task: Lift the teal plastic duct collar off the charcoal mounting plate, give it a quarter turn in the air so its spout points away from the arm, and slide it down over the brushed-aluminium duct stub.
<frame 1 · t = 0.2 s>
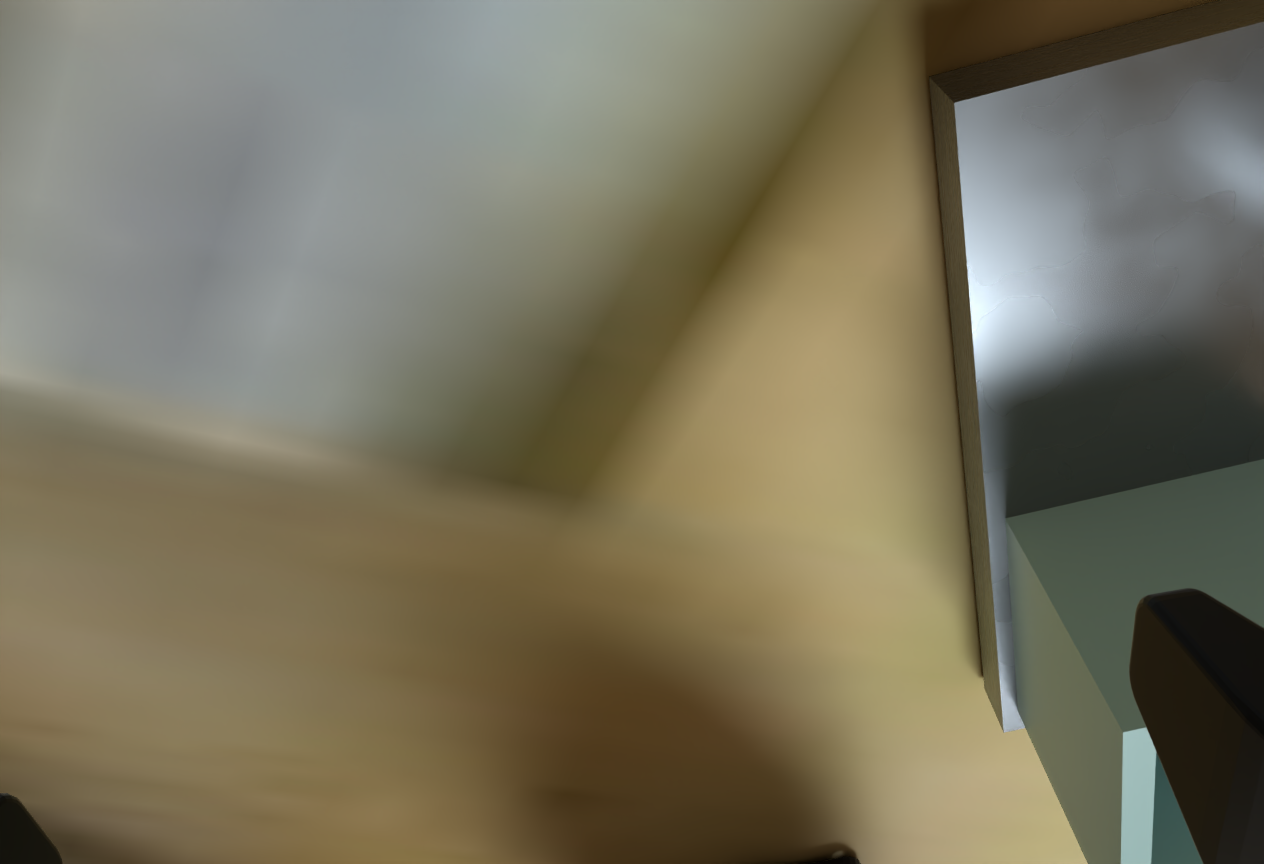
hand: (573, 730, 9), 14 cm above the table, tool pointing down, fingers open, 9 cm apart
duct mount: (1252, 372, 24), on the table
duct collar: (1151, 590, 26), point 1 cm above the table, touching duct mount
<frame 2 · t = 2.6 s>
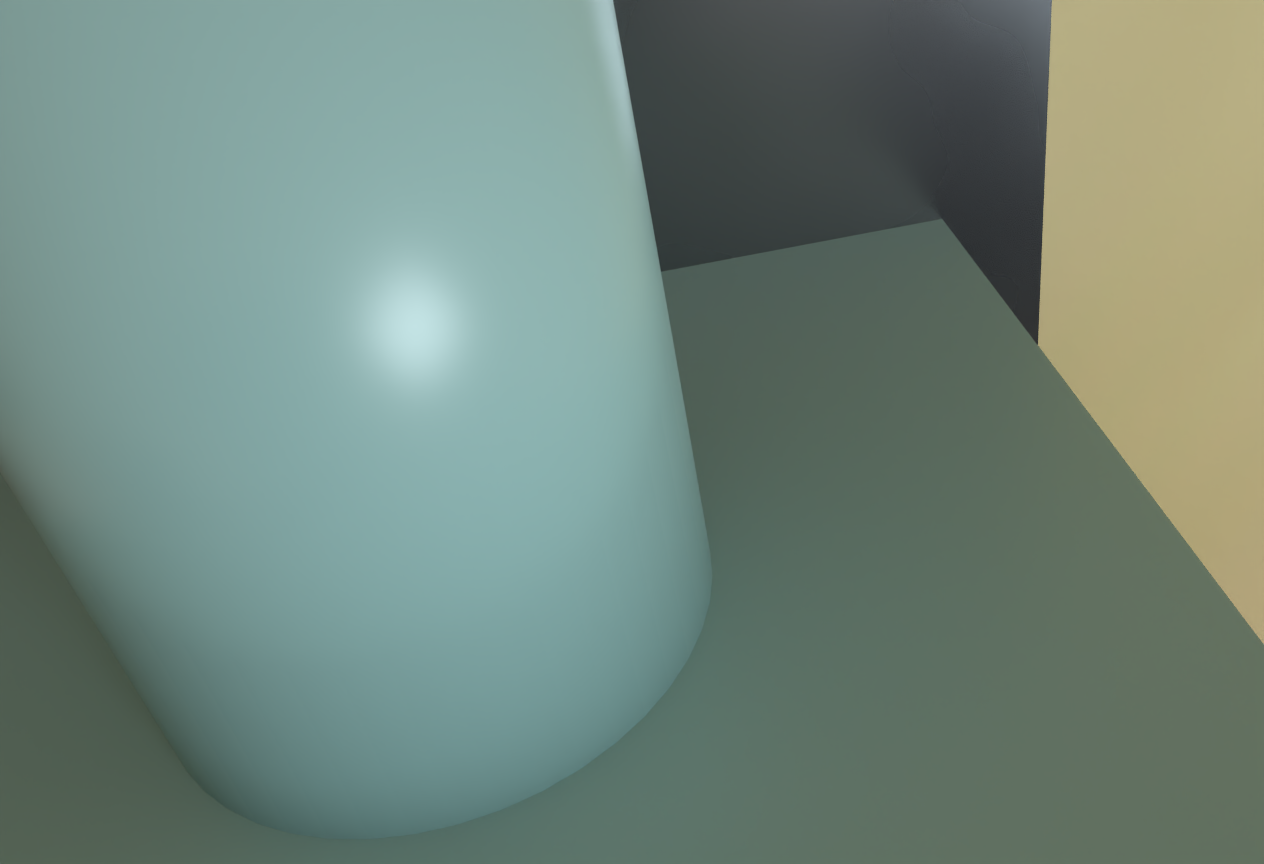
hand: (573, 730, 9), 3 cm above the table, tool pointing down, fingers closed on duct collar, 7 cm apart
duct collar: (569, 638, 10), point 1 cm above the table, touching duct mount, gripper
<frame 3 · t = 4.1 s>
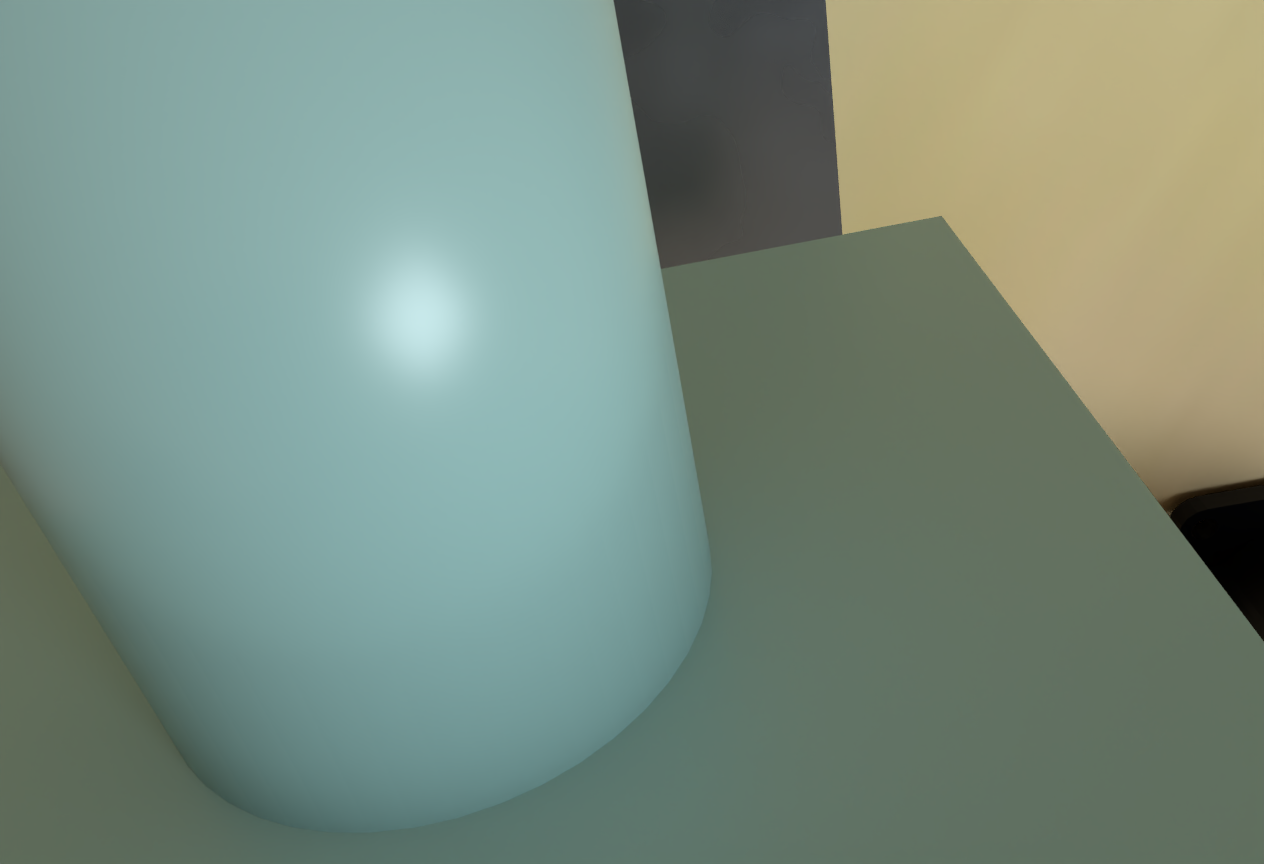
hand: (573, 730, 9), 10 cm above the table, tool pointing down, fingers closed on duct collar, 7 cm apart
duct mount: (221, 102, 16), on the table
duct collar: (569, 636, 10), point 9 cm above the table, touching gripper
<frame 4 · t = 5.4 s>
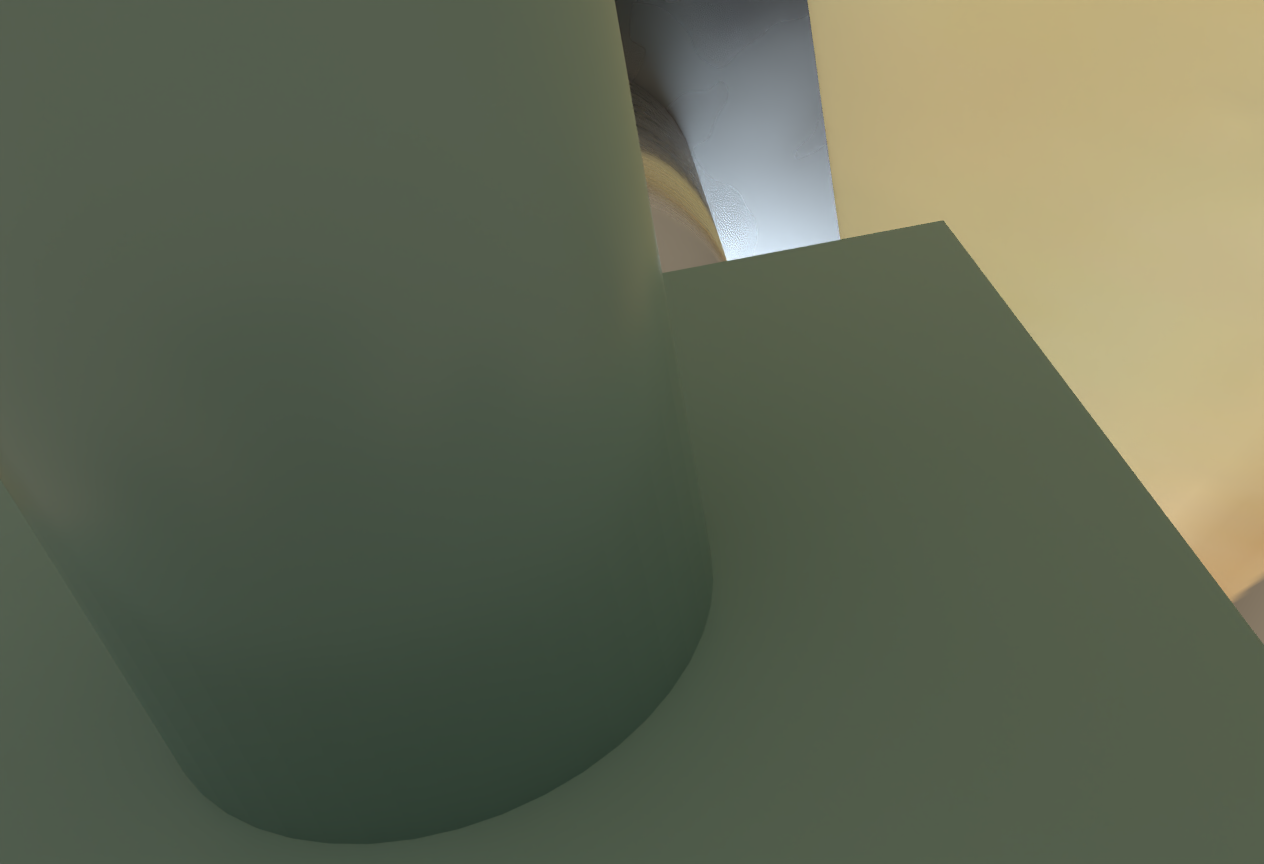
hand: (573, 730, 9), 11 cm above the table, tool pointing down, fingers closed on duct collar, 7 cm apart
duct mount: (497, 422, 21), on the table
duct collar: (569, 640, 10), point 10 cm above the table, touching gripper
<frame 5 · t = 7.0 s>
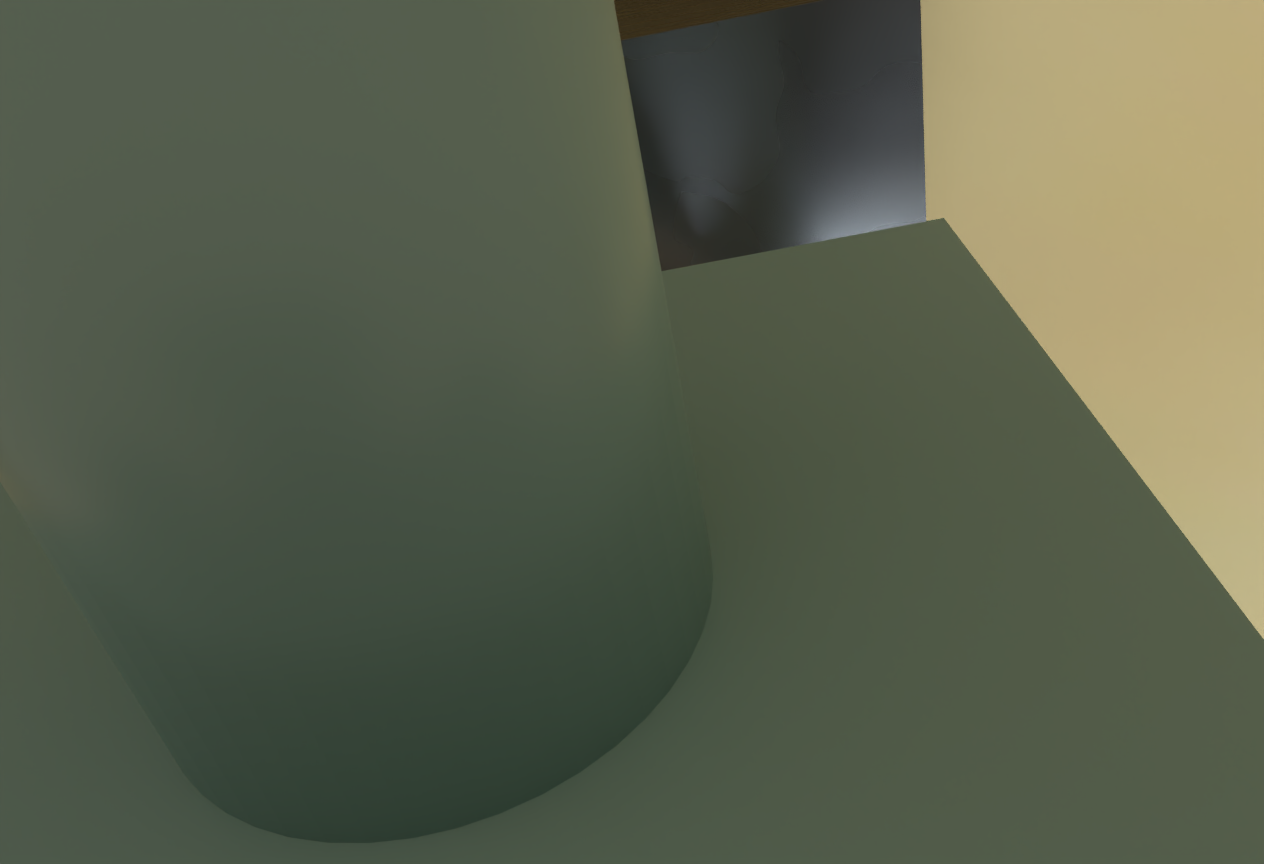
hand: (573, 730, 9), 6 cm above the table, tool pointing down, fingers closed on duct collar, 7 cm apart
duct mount: (462, 654, 16), on the table
duct collar: (569, 639, 10), point 5 cm above the table, touching gripper
when the fingers open (4 cm above the table, at t = 8.2 s): duct collar drops 1 cm, resting on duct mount.
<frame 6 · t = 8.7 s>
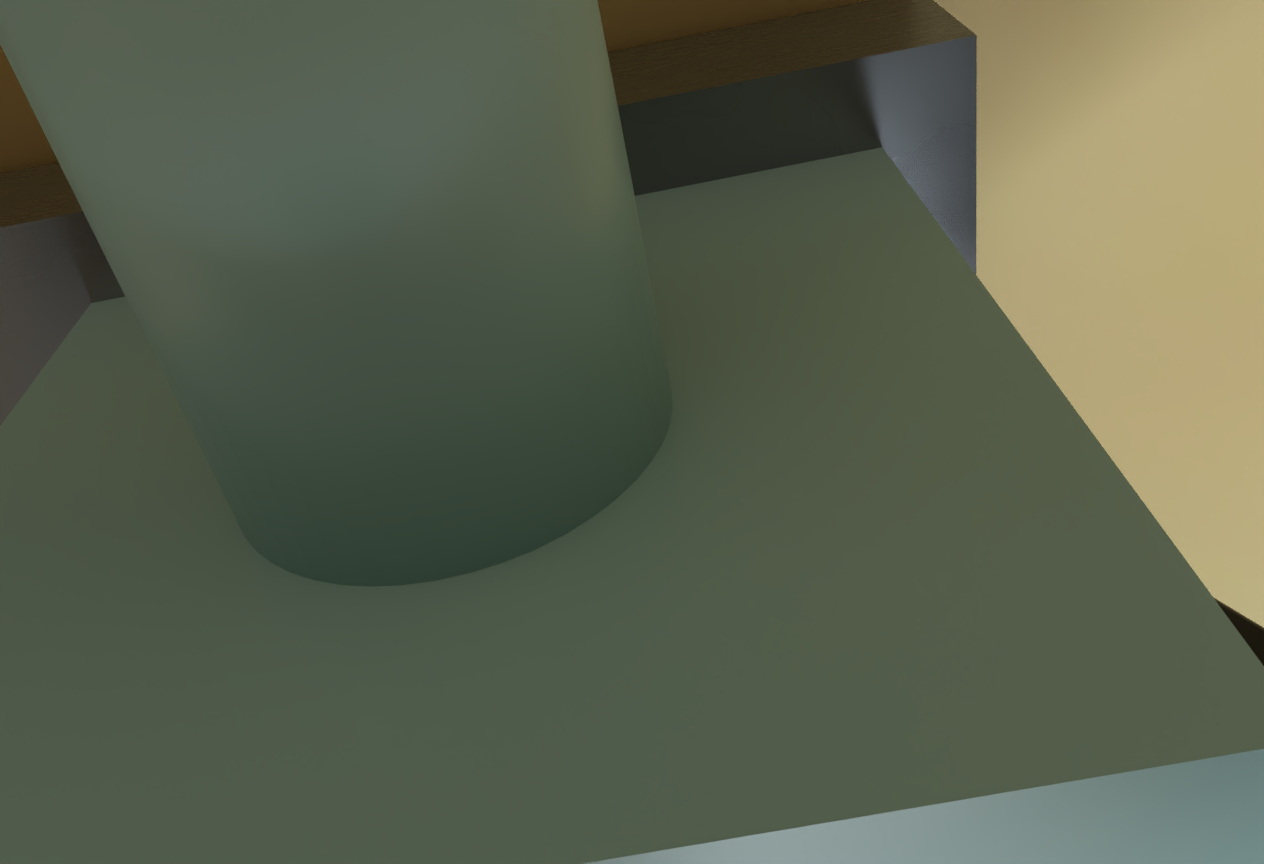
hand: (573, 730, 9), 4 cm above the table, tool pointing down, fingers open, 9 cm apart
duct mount: (452, 747, 15), on the table
duct collar: (565, 533, 11), point 1 cm above the table, touching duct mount
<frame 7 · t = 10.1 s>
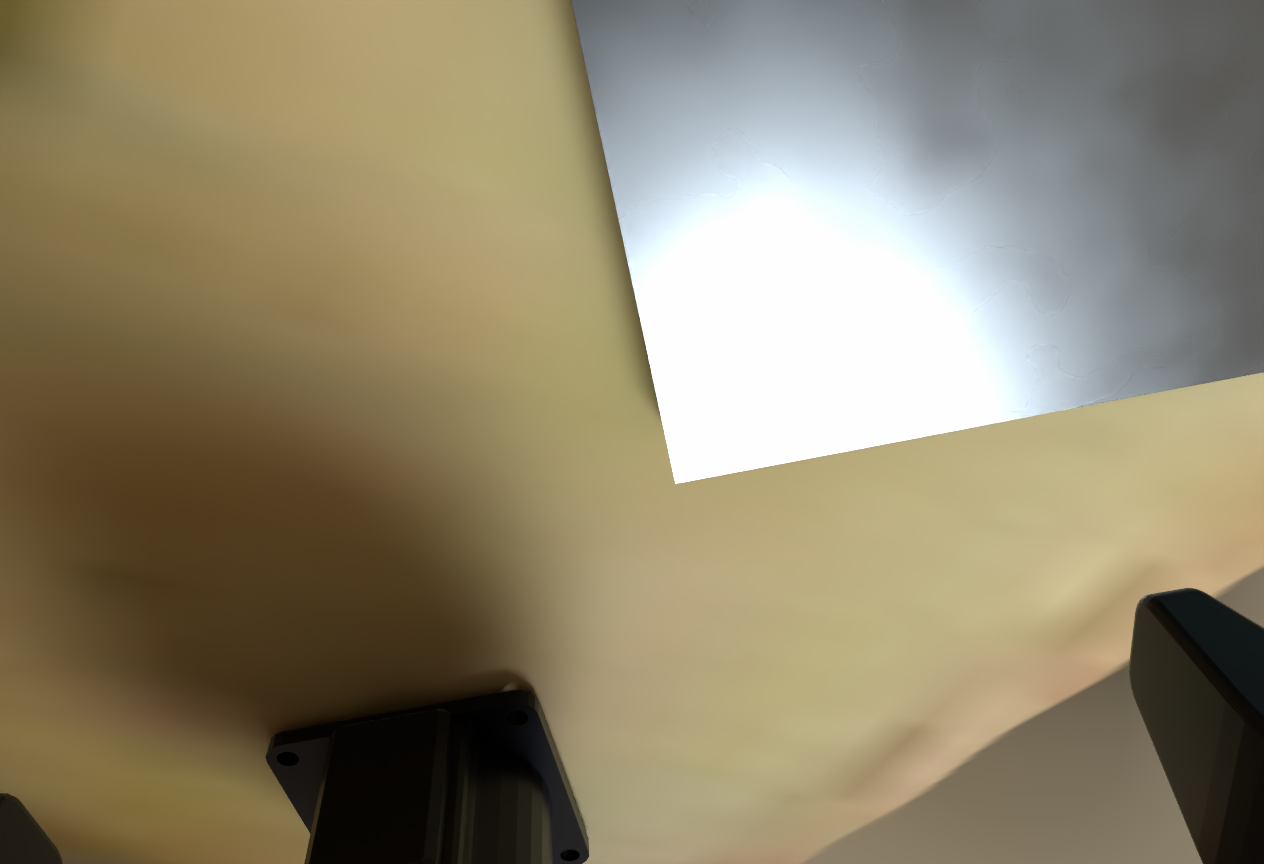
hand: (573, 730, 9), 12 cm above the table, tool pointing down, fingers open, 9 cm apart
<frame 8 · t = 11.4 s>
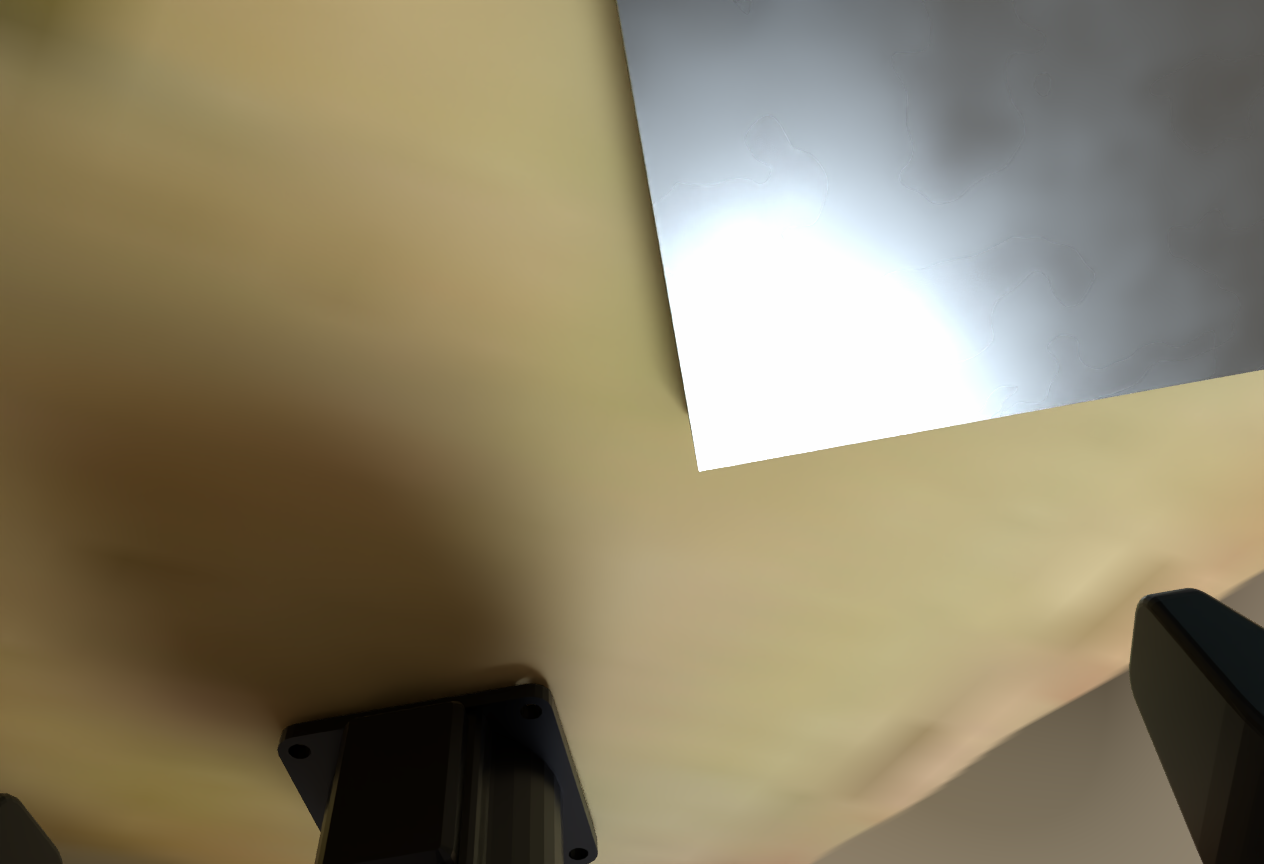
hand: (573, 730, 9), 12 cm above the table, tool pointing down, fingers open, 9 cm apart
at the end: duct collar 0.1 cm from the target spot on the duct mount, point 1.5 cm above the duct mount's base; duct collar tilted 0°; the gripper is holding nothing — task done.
